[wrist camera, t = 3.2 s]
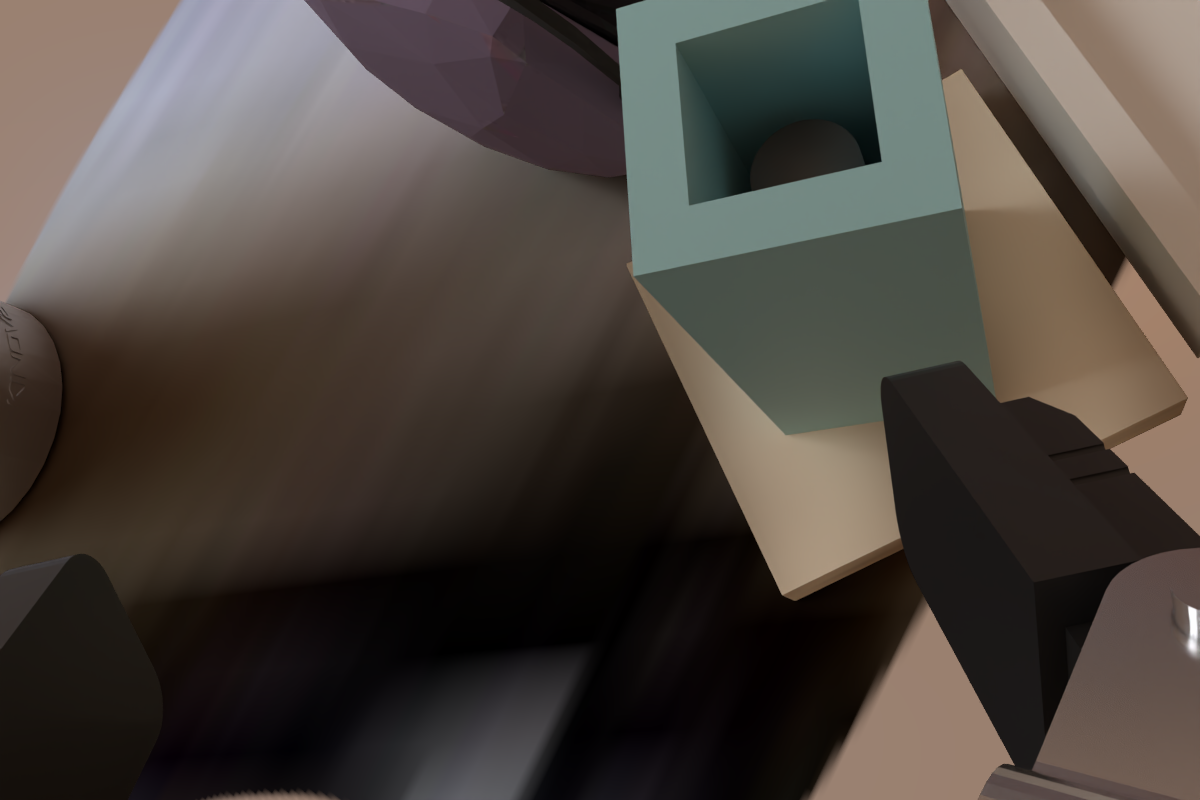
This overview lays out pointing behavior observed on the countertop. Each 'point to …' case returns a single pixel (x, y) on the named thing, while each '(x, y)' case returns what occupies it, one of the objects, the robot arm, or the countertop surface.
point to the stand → (1014, 339)
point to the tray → (1115, 120)
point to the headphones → (501, 71)
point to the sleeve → (799, 198)
